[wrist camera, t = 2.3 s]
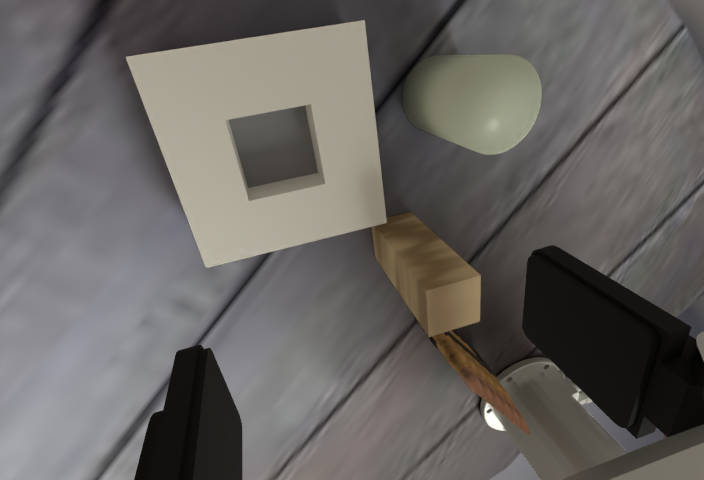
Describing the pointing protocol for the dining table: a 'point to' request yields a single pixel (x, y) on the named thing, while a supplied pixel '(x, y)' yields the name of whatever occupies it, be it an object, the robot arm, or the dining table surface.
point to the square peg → (427, 274)
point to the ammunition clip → (477, 374)
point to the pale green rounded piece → (474, 100)
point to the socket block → (268, 137)
